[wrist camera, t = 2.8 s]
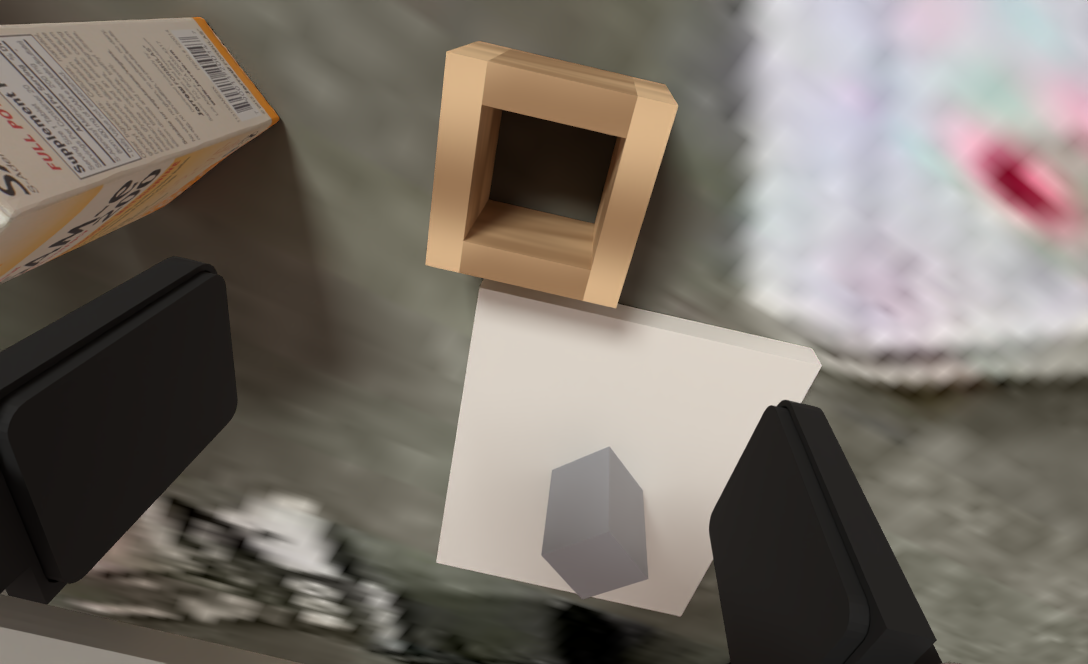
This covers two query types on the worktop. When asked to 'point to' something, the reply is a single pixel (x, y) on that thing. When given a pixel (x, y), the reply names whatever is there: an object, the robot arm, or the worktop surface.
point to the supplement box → (110, 127)
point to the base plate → (603, 443)
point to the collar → (525, 234)
